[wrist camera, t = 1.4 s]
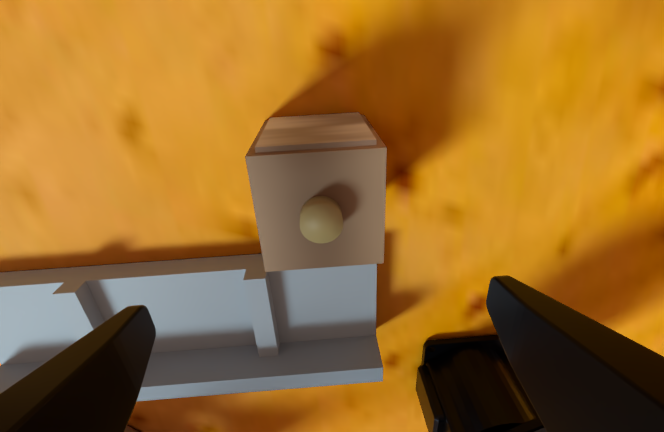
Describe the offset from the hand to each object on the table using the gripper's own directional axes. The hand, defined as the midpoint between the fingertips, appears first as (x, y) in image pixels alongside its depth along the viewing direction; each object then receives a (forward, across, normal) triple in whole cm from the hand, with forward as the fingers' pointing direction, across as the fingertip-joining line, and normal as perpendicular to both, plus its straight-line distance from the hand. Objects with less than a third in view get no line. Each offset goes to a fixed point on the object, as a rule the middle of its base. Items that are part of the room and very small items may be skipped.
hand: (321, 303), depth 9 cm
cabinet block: (+11, 0, 0) cm, 11 cm away
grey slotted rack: (+11, +9, +9) cm, 17 cm away
